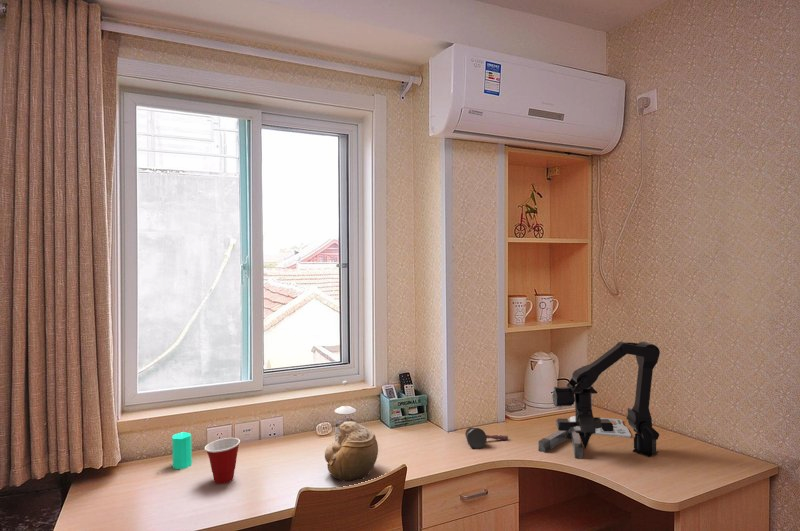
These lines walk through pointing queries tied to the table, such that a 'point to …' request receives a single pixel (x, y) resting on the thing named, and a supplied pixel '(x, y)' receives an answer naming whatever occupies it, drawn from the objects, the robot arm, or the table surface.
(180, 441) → the candle
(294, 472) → the table surface
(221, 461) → the plastic cup
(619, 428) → the office telephone
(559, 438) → the tongs fixed
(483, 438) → the black mallet
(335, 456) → the buddha statue
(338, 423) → the french press
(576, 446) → the bar
